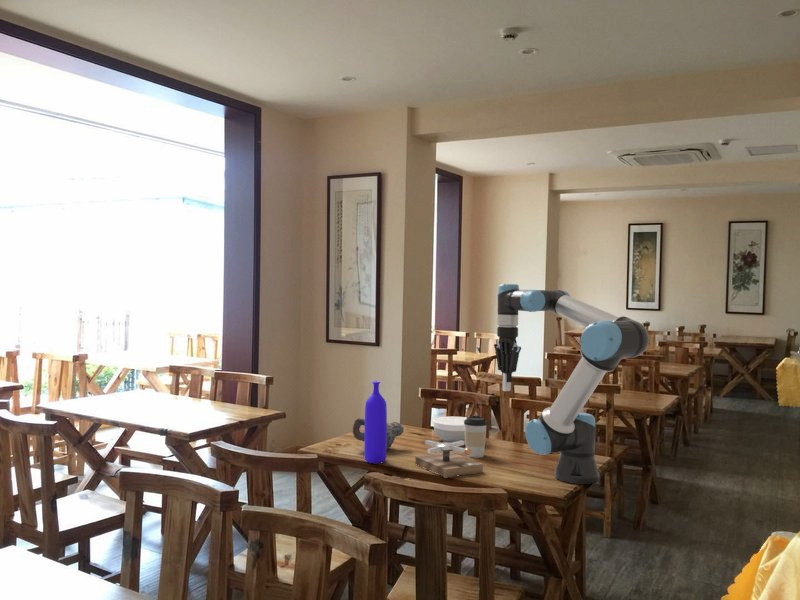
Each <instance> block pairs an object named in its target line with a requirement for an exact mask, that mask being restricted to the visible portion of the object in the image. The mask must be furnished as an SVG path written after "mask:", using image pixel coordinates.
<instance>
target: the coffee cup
mask: <svg viewBox="0 0 800 600" xmlns="http://www.w3.org/2000/svg"><path fill="white" fill-rule="evenodd" d="M464 425H465V429H464V432H465V443H464V446H465V449H466V448H469V449H471V454H470V455H466V454H465V455H466V456H465V457H467V458H483V457H485V456H484V455H485V447H486V439H487V425H488V421H487V420H485V418H484V417H481V416H479V415H472V416H467V419H466V420H464Z"/></svg>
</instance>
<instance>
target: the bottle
mask: <svg viewBox="0 0 800 600" xmlns="http://www.w3.org/2000/svg"><path fill="white" fill-rule="evenodd" d="M372 384H373V391H372V394H370V396H368V398H367V399H366V401H365V404H364V405H365V407H364V409H365V410H364V419H365V426H364V432H365V439H364V441H363V443H364V461H365V460H366V461H367V462H369V463H368V464H371V463H379V464H382V463H381V462H384V463H385V462H386V459H387V449H386V438H387V423H388V417H387V415H388V414H387V412H388V409H387V401H386V400H385V398H384V397H383V396H382V395H381V393H380V384H381V381H378V380H377V381H372ZM366 461H365V462H366ZM367 462H366V463H367Z"/></svg>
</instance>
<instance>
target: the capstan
mask: <svg viewBox="0 0 800 600" xmlns="http://www.w3.org/2000/svg"><path fill="white" fill-rule="evenodd" d="M424 444H425V445H427V446H430V447H431V448H427V450H426V451H427V454H429V455H430V454H436V453H440V452H443V451H450V452H456V453H461V454H465V455H470V454H471V449H469V448H466V447H461V446H465V443H464V441H462V440H461V441H457V442H453V443H445V442H439V441H438V442H437V441H434V440H429V439H426V440H424Z"/></svg>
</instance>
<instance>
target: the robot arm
mask: <svg viewBox="0 0 800 600" xmlns="http://www.w3.org/2000/svg"><path fill="white" fill-rule="evenodd" d="M519 311H521V312H529V313H532V312H533V313H534V312H552V313H554V314H557V315H560V316H561V317H563V318H566V319H568V320H570V321H572V322H574V323H577V324H578V325H580V326H582V327H585V329H584V330H583V332H582V333H581V336H580V341H581V343H580V348H581V349H580V355H581V358H580V360H579V361H578V363H577V364H576V366H575V368H574V369H573V371H572V373H570V374H571V375H570V376H569V378H568V379H567V381H566V382H565V384H564V385H563V387H562V389H561V390H560V392H559V393H558V395H557V397H556V399H555V400H554V401H553V403H552V404H551V406H548V407H546V408H544V409H543V410H542V411H541V414H540V415H539V417H538V418H537V419H535V418H534V419H533V418H532V419H531V420H530V421H528V422H527V423H526V426H525V430H524V432H525V439H526V443H527V444H528V446H529V448H530V449H531V450H532V451H533V452H534V453H535V454H537V455H549V454H554V453H556V454H557V453H559V452H560V454H559V457H558V461H557V464H556V467H555V468H554V477H555V479H557V480H558V479H559V481H561V482H564V481H565V482H564V483H568V482H569V484H576V485H578V484H579V485H588V484H595V483H598V482H599V481H600V472H599V470H598V465H597V461H596V457H595V456H596V455H595V452H596V449H595V448H596V427H597V426H596V417H595V416H594V415H593V414H591V413H587V412H582V409H583V408H584V407H585V405H586V404H587V402H588V401H589V399H590V397H591V396H592V394H593V393H594V391H595V390H596V388H597V387H598V385H599V384H600V383H601V381H602V379H604V376H605V375H606V373H608V372H609V373H610V372H613V371H614V370H615V369H616V367H618V365H619V363H620V362H621V360H623V359H633V358H636V357H638V356H640V355H642V354H643V353H644V352H645V351H646V350H647V348H648V346H649V343H650V334H649V331H648V330H647V328H646V327H645V326H644V325H643V323H640V322H639V321H637V320H634V319H632V318H629V317H627V316H625V315H622V316H617V315H615V314H612V313H610V312H608V311H605V310H603V309H600V308H598V307H596V306H593V305H591V304H588V303H587V302H585V301H582V300H579V299H576V298H575V297H572V296H571V295H570V294H569V292H568V291H566V290H561V289H520V286H519V284H516V283H515V284H514V283H511V284H510V283H502V284H499V285H498V289H497V315H496V316H497V319H496V320H497V321H496V323H497V331H496V334H497V335H496V336H497V337H498V342H497V343H495V344H493V348H494V350H495V356H496V364H497V370H498V371H500V372H501V381H502V383H501V384H502V387H501V388H502V391H503V392H511V390H512V388H511V387H512V380H513V377H512V376H513V373H516V372H517V367H518V363H519V357H520V353H521V350H522V347H521V346H518V344H517V339H516V338H518V337H519V327H517V326H518V325H519Z"/></svg>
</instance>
